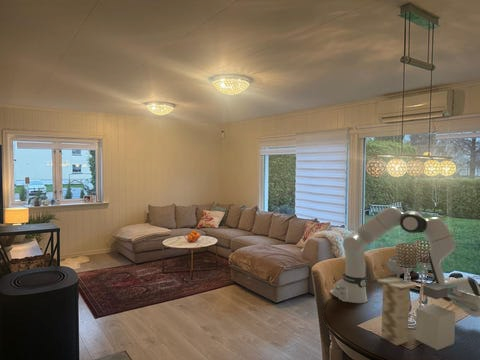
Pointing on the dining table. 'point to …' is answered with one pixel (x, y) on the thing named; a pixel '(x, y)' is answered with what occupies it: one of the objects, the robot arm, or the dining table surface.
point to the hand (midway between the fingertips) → (447, 288)
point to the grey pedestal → (435, 326)
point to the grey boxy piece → (437, 290)
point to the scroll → (412, 274)
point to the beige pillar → (395, 309)
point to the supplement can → (430, 272)
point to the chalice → (394, 267)
